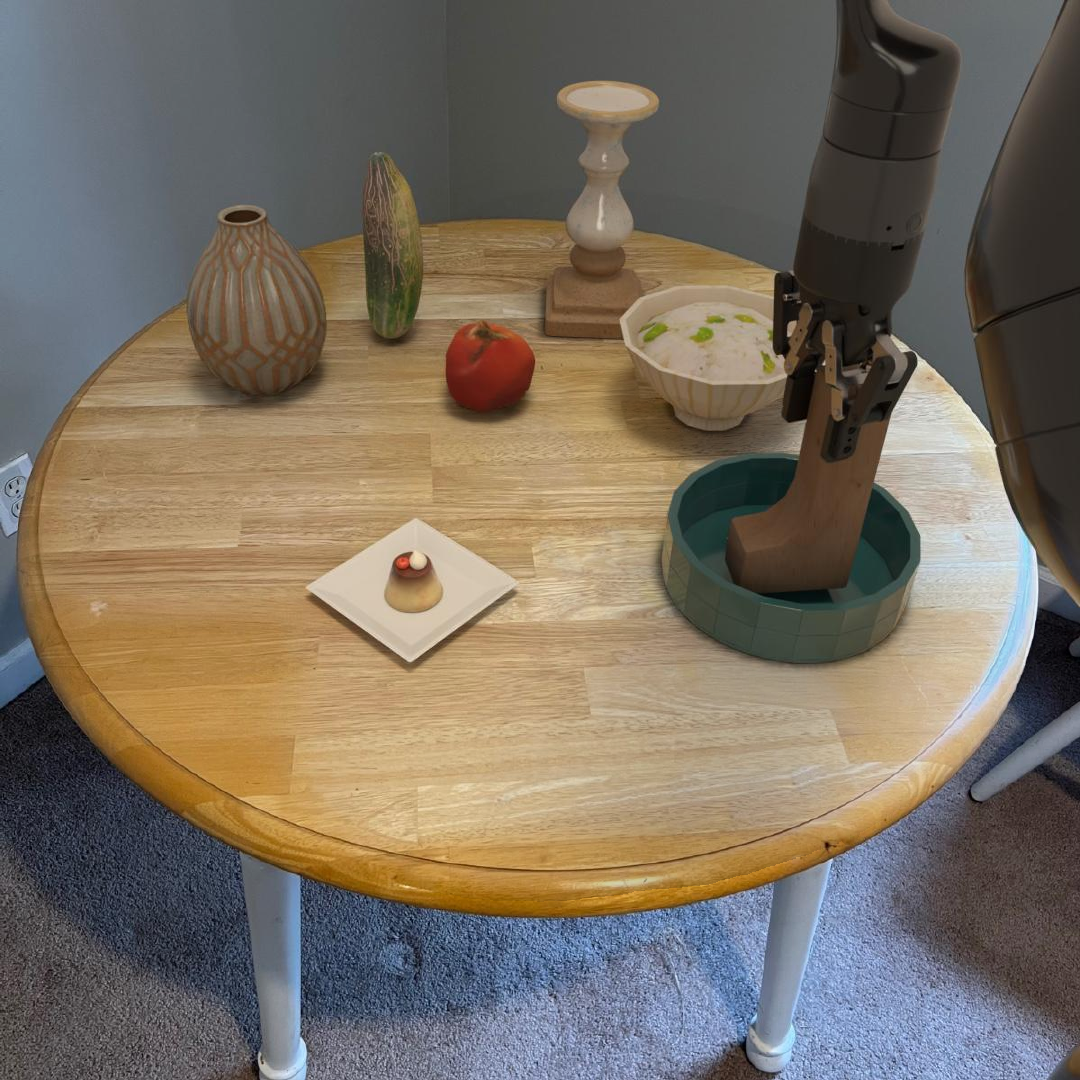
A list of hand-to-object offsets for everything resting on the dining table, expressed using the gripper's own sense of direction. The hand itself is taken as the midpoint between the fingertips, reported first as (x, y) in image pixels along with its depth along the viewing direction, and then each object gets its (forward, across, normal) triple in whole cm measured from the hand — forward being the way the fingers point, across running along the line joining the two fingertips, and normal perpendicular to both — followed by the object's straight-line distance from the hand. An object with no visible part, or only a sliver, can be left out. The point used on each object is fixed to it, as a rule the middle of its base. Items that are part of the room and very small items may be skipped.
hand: (815, 437), depth 79 cm
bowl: (+15, -26, +7) cm, 30 cm away
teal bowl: (+15, -2, +1) cm, 15 cm away
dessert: (+15, -9, -28) cm, 33 cm away
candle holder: (+15, -48, +4) cm, 50 cm away
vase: (+15, -45, -33) cm, 58 cm away
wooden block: (+14, 0, 0) cm, 14 cm away
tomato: (+15, -34, -13) cm, 40 cm away
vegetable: (+15, -49, -18) cm, 55 cm away
